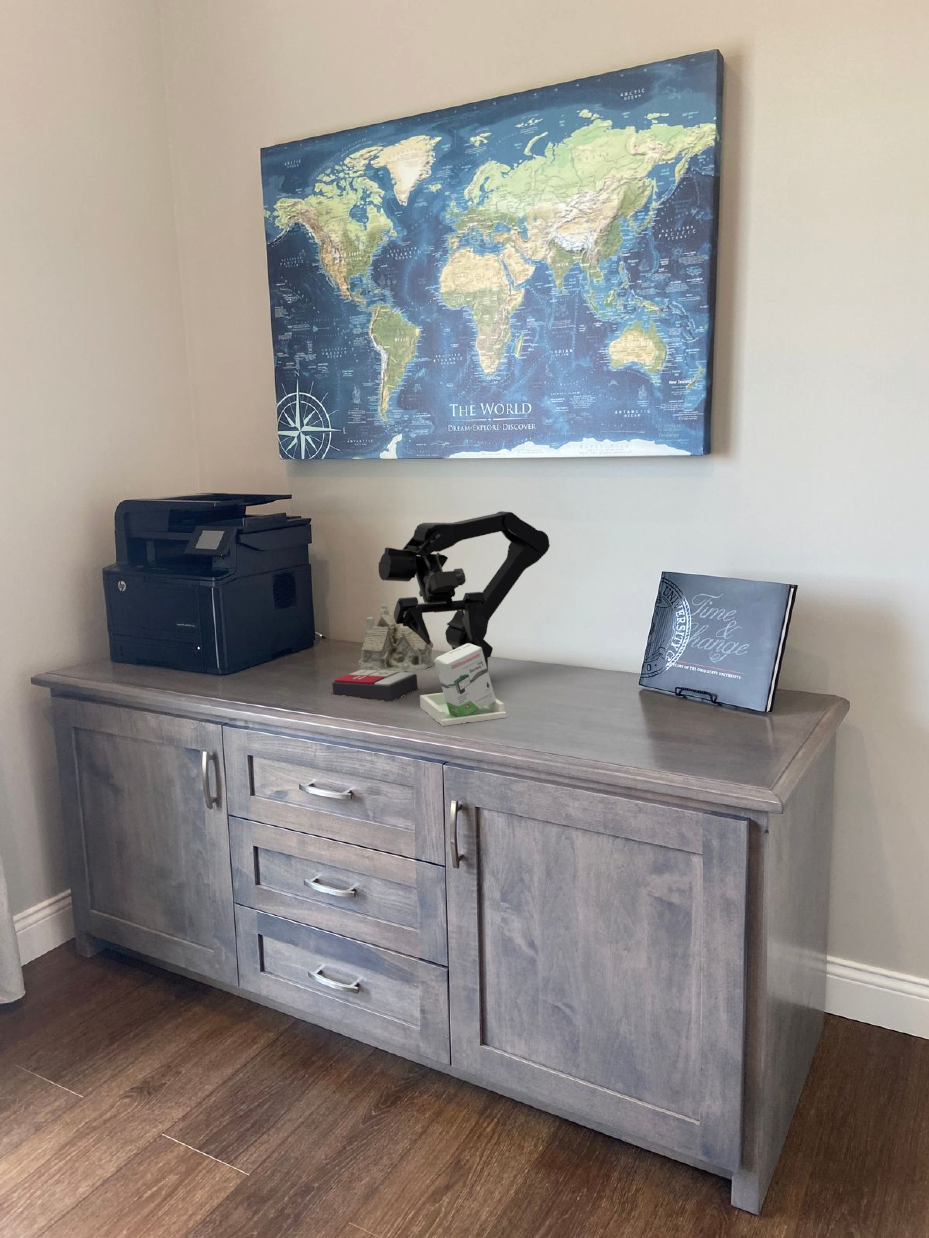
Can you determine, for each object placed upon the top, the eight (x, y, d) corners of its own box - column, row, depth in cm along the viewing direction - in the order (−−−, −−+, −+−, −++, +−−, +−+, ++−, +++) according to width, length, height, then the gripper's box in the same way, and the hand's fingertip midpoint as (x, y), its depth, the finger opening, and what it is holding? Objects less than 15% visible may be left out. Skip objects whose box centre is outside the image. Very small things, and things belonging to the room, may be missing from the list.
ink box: (461, 719, 178) (445, 664, 174) (448, 713, 182) (432, 659, 178) (497, 700, 182) (482, 645, 178) (483, 695, 186) (468, 641, 182)
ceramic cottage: (347, 670, 220) (348, 608, 218) (390, 659, 234) (392, 600, 231) (399, 682, 212) (401, 617, 209) (441, 669, 225) (443, 608, 223)
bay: (480, 699, 192) (480, 687, 192) (506, 717, 180) (506, 705, 179) (420, 707, 188) (419, 695, 188) (442, 726, 175) (441, 713, 175)
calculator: (360, 667, 209) (417, 670, 202) (362, 686, 210) (418, 689, 203) (330, 679, 200) (389, 682, 192) (332, 698, 200) (391, 702, 193)
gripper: (395, 558, 186) (414, 622, 178) (482, 553, 192) (504, 614, 184) (386, 592, 195) (403, 654, 186) (469, 585, 201) (489, 645, 193)
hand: (450, 641), depth 187 cm, fingers open, 9 cm apart
